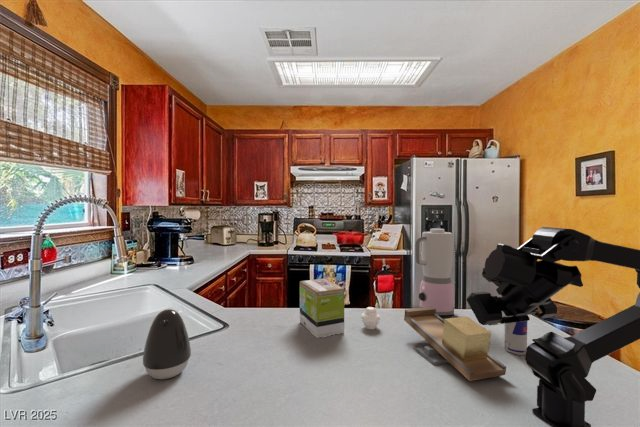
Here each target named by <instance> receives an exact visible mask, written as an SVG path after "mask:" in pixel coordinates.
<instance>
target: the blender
mask: <svg viewBox="0 0 640 427" xmlns="http://www.w3.org/2000/svg"><path fill="white" fill-rule="evenodd" d="M414 246H415V248H414V249H415V250H414V251H415V252H414V253H415V256H414V257H415V263H416V264H418V265H421V266H422V271H423V273H422V274H423V277H422V280H421V282H420V285H419V293H418V298H419V308H426V307H434V308H435V309H436V314H437V315H438V316H450V315H452V316H454V314H455V308H454V306H455V304H454V302H455V288H454V285H453V283H452V280H451V274H452V269H453V263H454V234H453V233H452V232H449V231H448V232H447V231H445V228H430V229H429V231H422V233H421V236H420V237H418V238H417V239H416V241H415V245H414Z"/></svg>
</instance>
